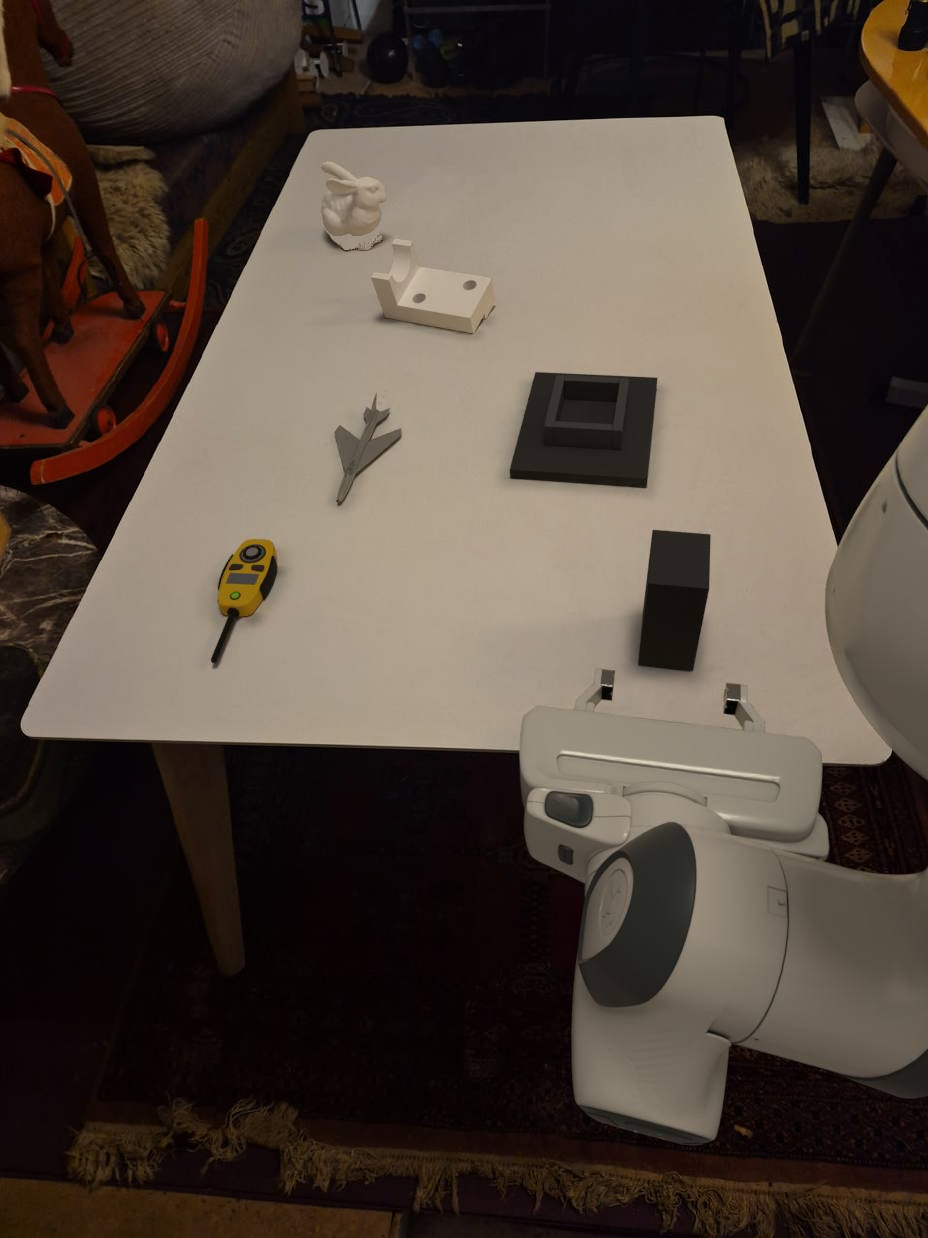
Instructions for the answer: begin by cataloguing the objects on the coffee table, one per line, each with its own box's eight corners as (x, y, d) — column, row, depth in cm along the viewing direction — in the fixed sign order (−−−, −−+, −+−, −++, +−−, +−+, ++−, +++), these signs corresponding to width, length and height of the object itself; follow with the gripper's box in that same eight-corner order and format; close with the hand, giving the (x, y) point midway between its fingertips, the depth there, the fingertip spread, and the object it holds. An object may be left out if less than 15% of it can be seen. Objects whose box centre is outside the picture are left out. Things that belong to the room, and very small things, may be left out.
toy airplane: (303, 504, 89) (298, 487, 87) (356, 388, 102) (353, 371, 101) (374, 509, 88) (370, 492, 86) (419, 391, 101) (416, 374, 99)
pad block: (695, 617, 75) (710, 533, 67) (692, 671, 71) (709, 588, 64) (642, 612, 76) (652, 529, 68) (637, 665, 72) (647, 583, 64)
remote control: (282, 536, 83) (235, 655, 73) (286, 550, 85) (241, 669, 75) (235, 534, 84) (182, 653, 74) (240, 549, 85) (189, 666, 76)
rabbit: (399, 241, 128) (388, 155, 119) (351, 266, 124) (336, 179, 115) (348, 220, 134) (333, 137, 125) (300, 243, 130) (282, 159, 121)
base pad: (656, 386, 98) (659, 357, 95) (646, 487, 87) (649, 458, 84) (535, 380, 101) (535, 352, 98) (510, 478, 89) (508, 449, 87)
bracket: (386, 322, 114) (370, 277, 107) (409, 285, 117) (394, 238, 110) (475, 339, 110) (464, 292, 103) (496, 299, 112) (486, 251, 106)
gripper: (844, 854, 50) (827, 670, 59) (501, 805, 54) (533, 639, 63) (819, 899, 55) (807, 722, 64) (505, 851, 59) (535, 690, 68)
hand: (669, 680), depth 63 cm, fingers open, 8 cm apart
